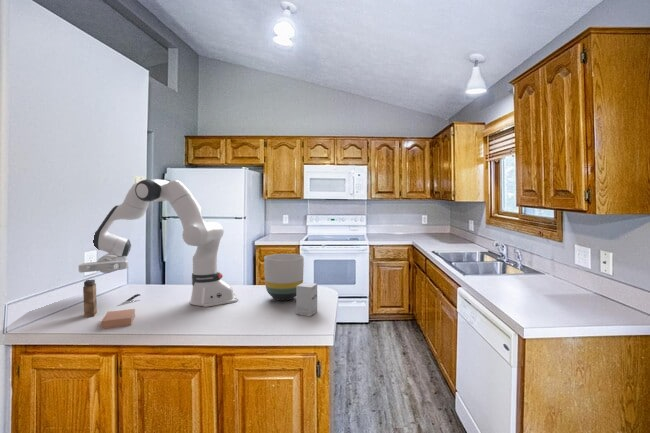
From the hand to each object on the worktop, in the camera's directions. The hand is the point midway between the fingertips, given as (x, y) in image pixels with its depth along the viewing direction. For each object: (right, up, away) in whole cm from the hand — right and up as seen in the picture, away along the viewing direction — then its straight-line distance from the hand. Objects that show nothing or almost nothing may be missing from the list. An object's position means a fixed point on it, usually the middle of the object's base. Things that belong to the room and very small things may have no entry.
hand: (100, 268), depth 159 cm
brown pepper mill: (+2, -18, -10) cm, 21 cm away
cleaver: (+10, -18, +7) cm, 22 cm away
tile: (+17, -17, -13) cm, 28 cm away
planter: (+83, -17, +13) cm, 86 cm away
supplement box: (+96, -19, -7) cm, 98 cm away
